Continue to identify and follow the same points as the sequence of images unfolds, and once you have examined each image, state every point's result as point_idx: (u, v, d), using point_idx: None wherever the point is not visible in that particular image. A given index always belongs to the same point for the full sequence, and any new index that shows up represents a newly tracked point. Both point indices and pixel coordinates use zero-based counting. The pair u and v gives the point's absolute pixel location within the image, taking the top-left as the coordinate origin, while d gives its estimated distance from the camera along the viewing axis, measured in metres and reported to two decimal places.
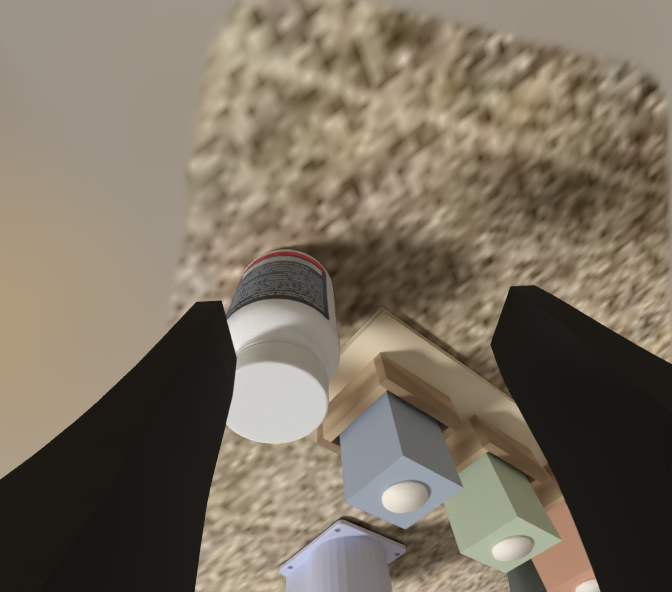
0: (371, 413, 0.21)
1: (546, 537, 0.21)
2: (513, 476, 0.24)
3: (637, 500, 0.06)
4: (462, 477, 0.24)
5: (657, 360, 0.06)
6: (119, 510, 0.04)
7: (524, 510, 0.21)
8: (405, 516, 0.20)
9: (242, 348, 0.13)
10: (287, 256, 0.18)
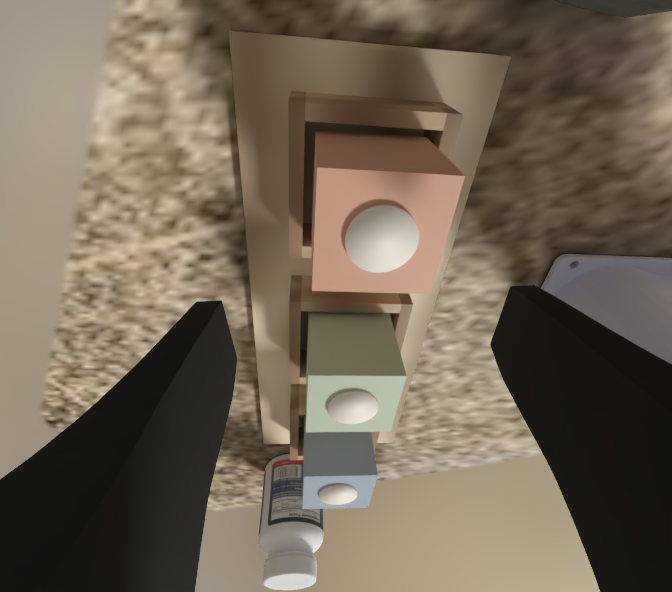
0: None
1: (315, 392, 0.16)
2: (307, 351, 0.20)
3: (637, 500, 0.06)
4: None
5: (657, 360, 0.06)
6: (119, 510, 0.04)
7: (306, 403, 0.18)
8: (360, 482, 0.22)
9: None
10: None
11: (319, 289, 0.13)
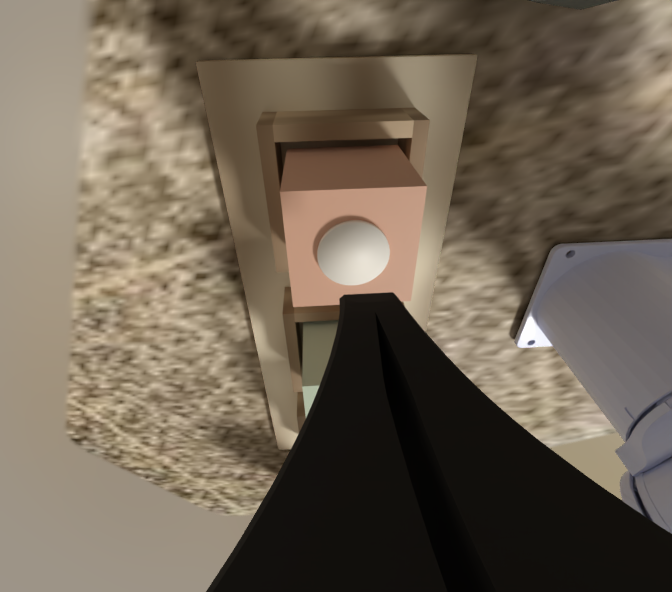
0: None
1: (312, 401, 0.17)
2: None
3: None
4: None
5: (454, 372, 0.06)
6: None
7: None
8: None
9: None
10: None
11: (300, 305, 0.13)
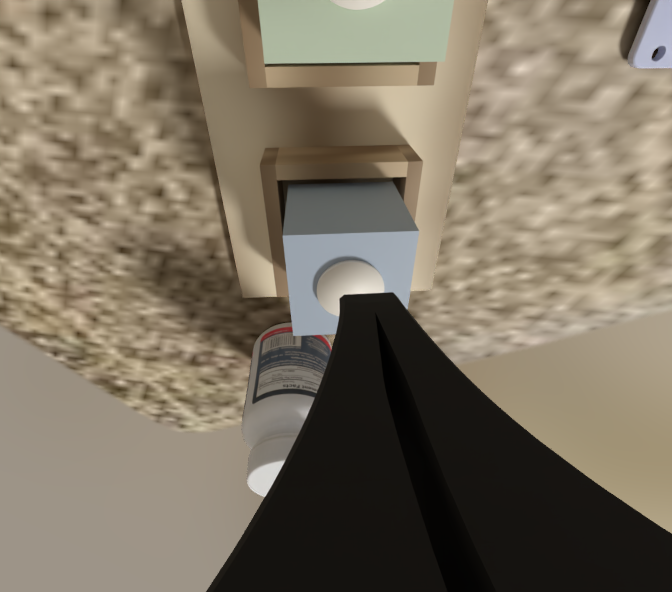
0: None
1: None
2: None
3: None
4: None
5: (454, 372, 0.06)
6: None
7: None
8: (388, 255, 0.12)
9: None
10: None
11: None
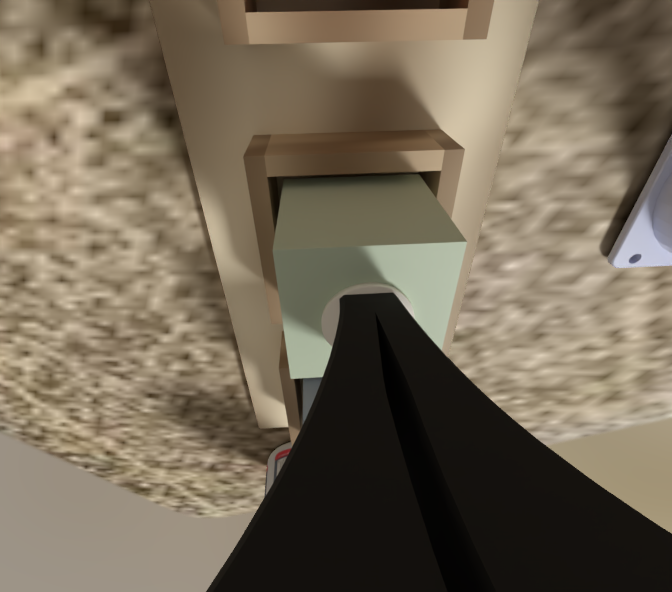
0: None
1: (294, 290, 0.09)
2: None
3: None
4: None
5: (454, 372, 0.06)
6: None
7: None
8: None
9: None
10: None
11: None
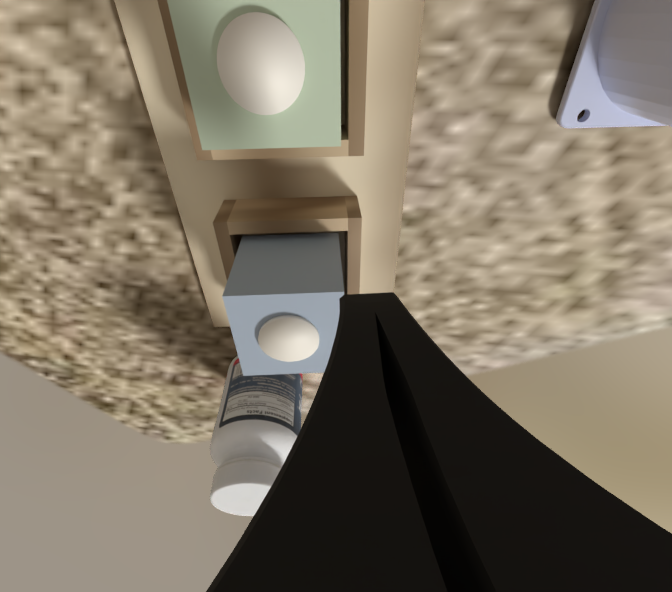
0: None
1: (186, 20, 0.09)
2: None
3: None
4: None
5: (454, 372, 0.06)
6: None
7: None
8: (320, 310, 0.14)
9: None
10: None
11: None
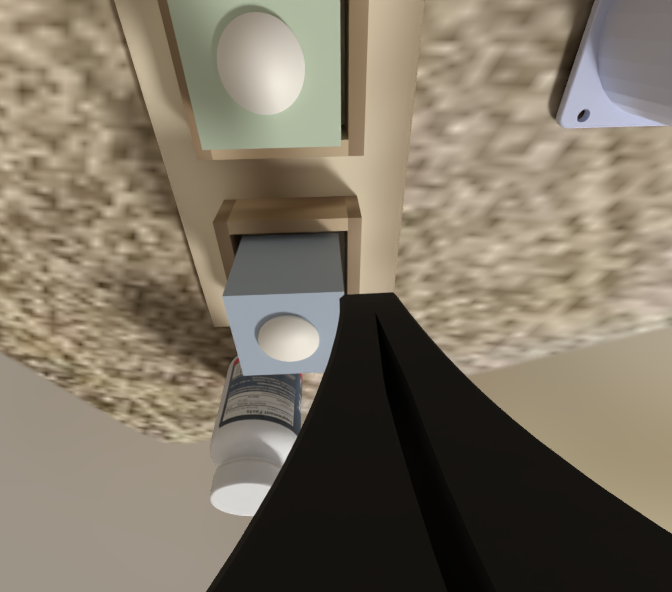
0: None
1: (186, 19, 0.09)
2: None
3: None
4: None
5: (454, 372, 0.06)
6: None
7: None
8: (319, 310, 0.14)
9: None
10: None
11: None
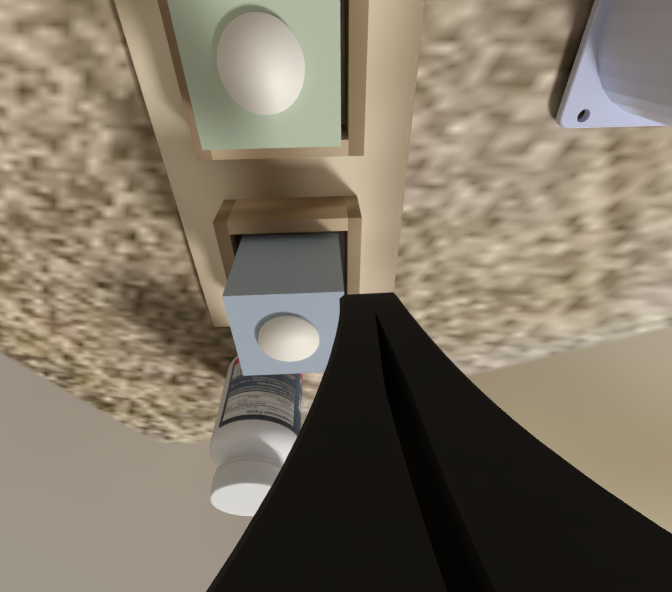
0: None
1: (186, 19, 0.09)
2: None
3: None
4: None
5: (454, 372, 0.06)
6: None
7: None
8: (319, 310, 0.14)
9: None
10: None
11: None
